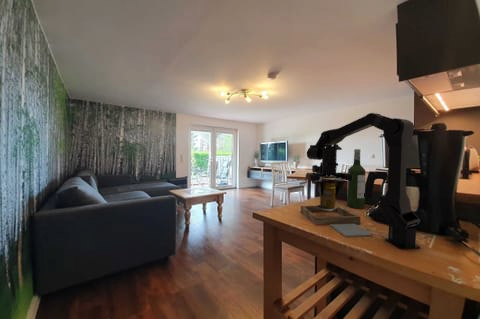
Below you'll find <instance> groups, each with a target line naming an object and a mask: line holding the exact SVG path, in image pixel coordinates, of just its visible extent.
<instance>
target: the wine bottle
mask: <svg viewBox="0 0 480 319" xmlns="http://www.w3.org/2000/svg"><path fill="white" fill-rule="evenodd" d="M353 152H354V153H353V164H352V165H351V166H350V167H349V168H348V169H347V173H351V174H352V175H353V180H347V190H346V191H347V193H346V194H347V195H346V206H347V207H348V208H351V209H357V210H358V209H360V210H362V209H364V208H365V201H366V199H365V197H366V196H365V197H364V193H365V194H366V169H365V167H363V166H362V165H361V149H359V148H358V149H357V148H355V149H354V150H353Z"/></svg>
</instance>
